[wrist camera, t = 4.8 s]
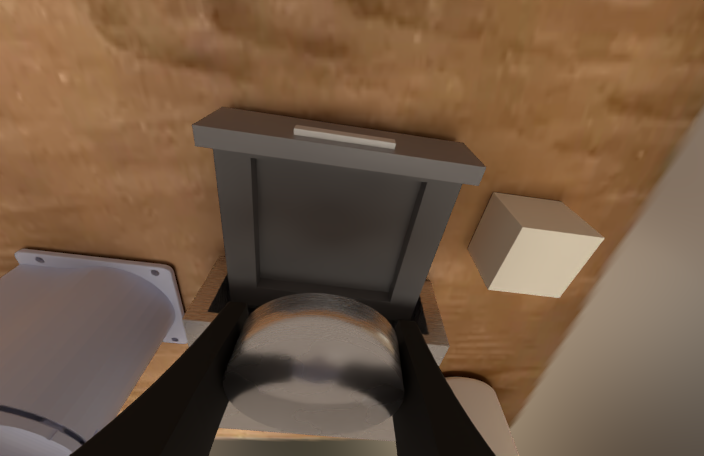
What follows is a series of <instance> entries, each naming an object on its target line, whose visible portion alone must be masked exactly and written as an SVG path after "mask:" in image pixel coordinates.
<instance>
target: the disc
mask: <svg viewBox="0 0 704 456" xmlns="http://www.w3.org/2000/svg"><path fill="white" fill-rule="evenodd" d="M223 389H224V392H225V394H226V396H227V398H228V400H229V401H230V402H231V403H232V405H233V406H234V407H235V408H236V409H238V410H239V411H240V412H241V413H243V414H244V415H246V416H247V417H249V418H251V419H252V420H255V421H257V422H259V423H261V424H263V425H266V426H269V427H272V428H275V429H278V430H283V431H287V432H292V433H298V434H307V435H339V434H346V433H352V432H357V431H361V430H364V429H367V428H370V427H373V426H375V425H377V424H380V423H382V422H383V421H385V420H387V419H388V418H389V417H391V416H392V415H393V414H394V413H395V412H396V411H397V410H398V409H399V407H400V405H401V404H402V401H403V398H404V385H403V377H402V369H401V362H400V354H399V346H398V340H397V336H396V333H395V330H394V329H393V327H392V326H391V324H390V323H389V322H388V321H387V319H386V318H385V317H383V316H382V315H381V314H380V313H379V312H377V311H376V310H374V309H373V308H371V307H369V306H367V305H365V304H363V303H361V302H359V301H356V300H353V299H350V298H347V297H343V296H339V295H332V294H325V293H301V294H293V295H288V296H284V297H280V298H277V299H274V300H272V301H270V302H267V303H265V304H263V305H262V306H260V307H259V308H257V309H256V310H255V311H254V312H253V313H251V314H250V315H249V317H248V318H247V319H246V321H245V323H244V325H243V327H242V329H241V332H240V334H239V337H238V340H237V342H236V345H235V347H234V350H233V353H232V355H231V358H230V360H229V363H228V366H227V368H226V371H225V373H224V377H223Z"/></svg>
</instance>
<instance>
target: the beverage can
mask: <svg viewBox="0 0 704 456" xmlns="http://www.w3.org/2000/svg"><path fill="white" fill-rule="evenodd" d="M445 379H446V381H447V382H448V384H449V386H450V388H451V389H452V391H453V393H454V394H455V396H456V398H457V399H458V401H459V402H460V404H461V405H462V407H463V409H464V410H465V412H466V413H467V415H468V416H469V418H470V420H471V421H472V423H473V424H474V425H475V427H476V428H477V430H478V431H479V433H480V434H481V436H482V437H483V438H484V440H485V441H486V443H487V444H488V446H489V447H490V448H491V450H492V451H493V452H494V454H495V455H496V456H519V453H518V450H517V448H516V445H515V442H514V440H513V437H512V435H511V432H510V429H509V427H508V424H507V421H506V419H505V416H504V413H503V411H502V408H501V406H500V403H499V400H498V398H497V395H496V393H495V391H494V390H493V388H492V387H490V386H489V385H488V384H486V383H484V382H482V381H480V380H476V379H472V378H465V377H445Z"/></svg>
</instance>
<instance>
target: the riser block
mask: <svg viewBox="0 0 704 456" xmlns="http://www.w3.org/2000/svg"><path fill="white" fill-rule="evenodd" d="M603 240H604V237H603V236H602V235H600V234H599V233H598V232H597V231H596V230H595V229H593V228H592V227H591V226H590V225H589V224H587V223H586V222H585V221H584V220H583V219H581V218H580V217H579V216H578V215H577V214H576V213H574V212H573V211H572V210H571V209H570V208H568V207H567V206H566V205H565V204H564V203H562V202H560V201H553V200H546V199H539V198H532V197H525V196H517V195H510V194H503V193H496V192H493V194H492V196H491V198H490V200H489V203H488V205H487V207H486V209H485V211H484V214H483V216H482V218H481V220H480V222H479V225H478V227H477V229H476V231H475V233H474V236H473V238H472V240H471V242H470V244H469V247H468V251H469V253H470V255H471V257H472V259H473V261H474V263H475V265H476V267H477V269H478V271H479V273H480V275H481V277H482V279H483V281H484V283H485V285H486V287H487V289H488V290H496V291H504V292H513V293H522V294H530V295H539V296H548V297H556V298H560V296H561V295H562V294H563V292H564V291H565V290H566V288H567V287H568V286H569V284H570V283H571V282H572V280H573V279H574V278H575V276H576V275H577V274H578V273H579V271H580V270H581V269H582V267H583V266H584V265H585V263H586V262H587V261H588V259H589V258H590V257H591V255H592V254H593V253H594V251H595V250H596V249H597V247H598V246H599V245H600V244H601V242H602V241H603Z"/></svg>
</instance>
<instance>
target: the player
mask: <svg viewBox="0 0 704 456" xmlns="http://www.w3.org/2000/svg"><path fill="white" fill-rule="evenodd" d="M230 301H231V298H230V290H229V281H228V273H227V264H226V257H219V258H218V260H217V261H216V263H215V265H214V266H213V268H212V270H211V271H210V273H209V275H208V276H207V278H206V280H205V281H204V283H203V285H202V286H201V288H200V290H199V291H198V293H197V295H196V296H195V298H194V300H193V301H192V303H191V305H190V306H189V308H188V310H187V311H186V313H185V315H184V316H183V318H182V322H183V326H184V330H185V334H186V337H187V341H188V345H189V347H190V346H191V345H192V344H193V342H194V341H195V340H196V339H197V338H198V337H199V336H200V335H201V334H202V333H203V331H204V330H205V329H206V328H207V327H208V326H209V325H210V323H211V322H212V321H213V320H214V319H215V317H216V316H217V315H218V314H219V313H220V311H221V310H222V309H223V308H224V306H225V305H226V304H227V303H228V302H230ZM259 307H260V306H254V305H248V317H249V315H250V314H251V313H253V312H254V311H255V310H256V309H257V308H259ZM387 321H388V322H389V323H390V324H391V326H392V327H393V329H394V330H395V329H396V326H397V323H398V321H396V320H387ZM410 321H415V322H416V323H417V325H418V327H419V329H420V331H421V333H422V335H423V337H424V339H425V341H426V343H427V345H428V347H429V349H430V351H431V353H432V355H433V357H434V359H435V361H436V363H437V365H438V366H439V365H440V363H441V361H442V360H443V358H444V356H445V354H446V352H447V350H448V348H449V343H448V339H447V336H446V332H445V329H444V326H443V322H442V319H441V315H440V312H439V309H438V305H437V302H436V298H435V295H434V292H433V288H432V285H431V281H426V280H425V282H424V285H423V288H422V290H421V293H420V295H419V298H418V301H417V303H416V306H415V308H414V311H413V314H412V316H411V319H410ZM219 428H227V429H241V430H254V431H267V432H280V433H292V432H287V431H283V430H278V429H275V428H272V427H269V426H266V425H263V424H261V423H259V422H257V421H255V420H252V419H251V418H249V417H247V416H246V415H244V414H243V413H241V412H240V411H239V410H238V409H236V408H235V407H234V406H233V405H232V403H231V402H230V401H229V403H228V405H227V408H226V410H225V413H224V415H223V418H222V420H221V423H220V425H219ZM293 434H298V433H293ZM306 435H307V434H306ZM319 436H332V437H345V438H358V439H371V440H384V441H385V440H386V441H396V439H395V432H394V424H393V417H392V416H391V417H389V418H388V419H387V420H385V421H383V422H382V423H380V424H377V425H375V426H373V427H370V428H367V429H364V430H361V431H357V432H352V433H346V434H339V435H319Z"/></svg>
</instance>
